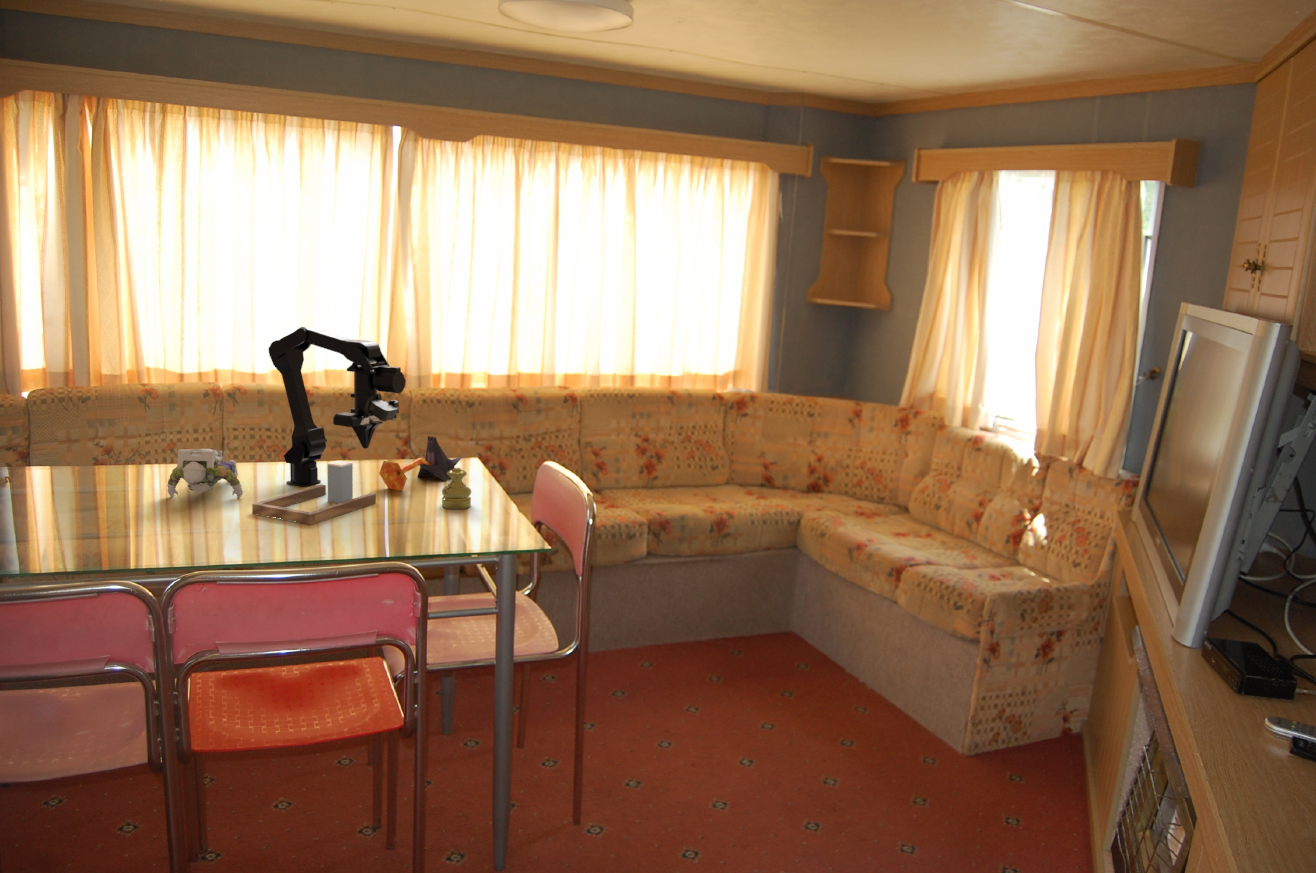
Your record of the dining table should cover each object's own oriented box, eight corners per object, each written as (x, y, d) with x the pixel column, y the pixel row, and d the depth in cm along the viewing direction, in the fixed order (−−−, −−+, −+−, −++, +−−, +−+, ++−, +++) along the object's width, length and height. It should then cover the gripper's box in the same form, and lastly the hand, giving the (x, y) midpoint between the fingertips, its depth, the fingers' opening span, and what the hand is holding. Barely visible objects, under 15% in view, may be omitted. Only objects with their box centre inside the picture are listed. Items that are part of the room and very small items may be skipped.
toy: (189, 495, 248) (149, 500, 218) (190, 448, 248) (150, 447, 218) (259, 495, 251) (229, 501, 221) (260, 449, 251) (230, 449, 222)
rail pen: (252, 514, 221) (252, 503, 220) (321, 493, 242) (321, 484, 242) (310, 525, 214) (310, 514, 214) (375, 503, 236) (375, 493, 236)
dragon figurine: (375, 458, 250) (432, 425, 270) (382, 498, 254) (437, 463, 275) (406, 463, 245) (461, 429, 266) (412, 504, 250) (467, 468, 271)
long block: (327, 501, 235) (327, 463, 233) (338, 498, 239) (338, 460, 237) (342, 503, 234) (341, 465, 232) (352, 500, 237) (352, 462, 236)
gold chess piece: (455, 500, 243) (456, 463, 241) (477, 505, 239) (477, 468, 237) (435, 506, 237) (436, 468, 235) (457, 511, 233) (457, 473, 231)
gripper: (367, 397, 229) (367, 458, 232) (413, 389, 246) (412, 446, 249) (331, 392, 233) (331, 452, 236) (378, 384, 250) (378, 441, 253)
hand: (365, 448), depth 243 cm, fingers closed
